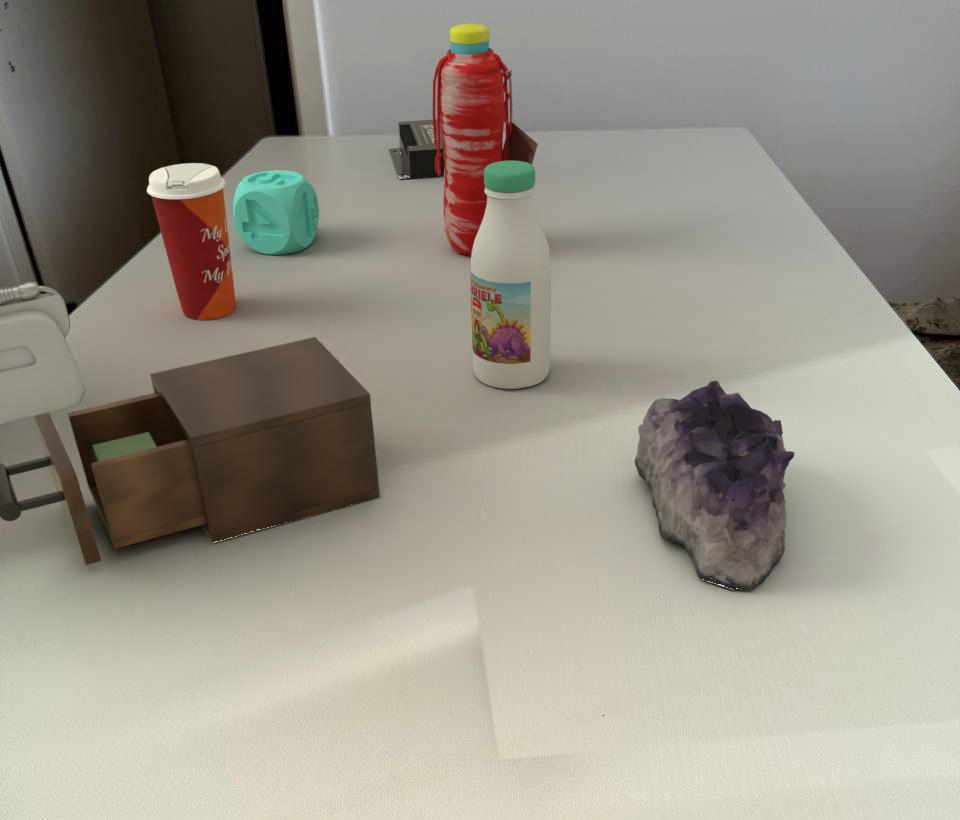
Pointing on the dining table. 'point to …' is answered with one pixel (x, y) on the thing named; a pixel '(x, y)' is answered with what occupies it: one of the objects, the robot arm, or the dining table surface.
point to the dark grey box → (417, 150)
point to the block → (123, 446)
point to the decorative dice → (276, 212)
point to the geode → (717, 483)
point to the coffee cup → (195, 237)
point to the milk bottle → (510, 283)
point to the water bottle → (472, 129)
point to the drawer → (116, 475)
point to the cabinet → (273, 435)
